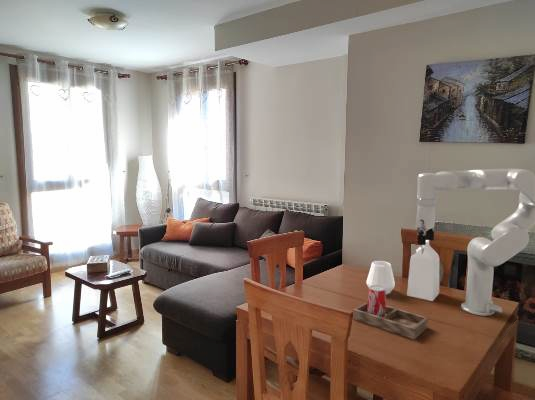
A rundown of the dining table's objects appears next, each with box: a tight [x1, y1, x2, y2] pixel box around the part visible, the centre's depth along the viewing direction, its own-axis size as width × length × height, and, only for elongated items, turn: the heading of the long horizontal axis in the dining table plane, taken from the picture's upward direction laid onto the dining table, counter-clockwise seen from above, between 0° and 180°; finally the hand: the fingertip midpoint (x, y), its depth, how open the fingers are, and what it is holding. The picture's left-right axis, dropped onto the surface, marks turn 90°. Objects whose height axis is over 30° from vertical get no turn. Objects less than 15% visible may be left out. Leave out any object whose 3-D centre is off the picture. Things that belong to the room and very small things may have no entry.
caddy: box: [352, 300, 429, 340], centre depth 151 cm, size 25×13×4 cm, turn 47°
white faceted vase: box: [366, 260, 396, 295], centre depth 185 cm, size 13×13×14 cm
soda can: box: [367, 285, 387, 317], centre depth 154 cm, size 7×7×12 cm
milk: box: [406, 240, 440, 302], centre depth 180 cm, size 12×12×26 cm
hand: (425, 242), depth 162 cm, fingers open, 9 cm apart
